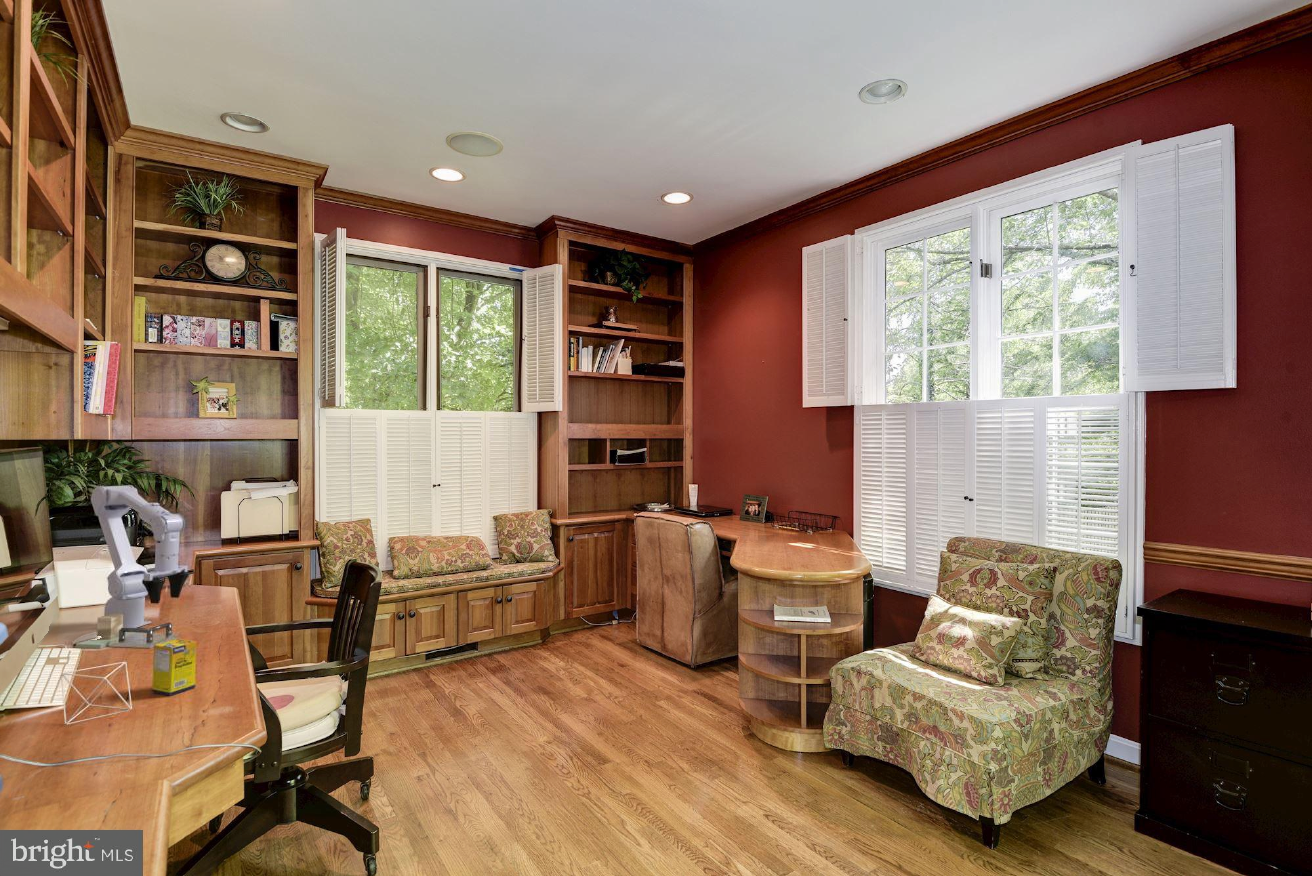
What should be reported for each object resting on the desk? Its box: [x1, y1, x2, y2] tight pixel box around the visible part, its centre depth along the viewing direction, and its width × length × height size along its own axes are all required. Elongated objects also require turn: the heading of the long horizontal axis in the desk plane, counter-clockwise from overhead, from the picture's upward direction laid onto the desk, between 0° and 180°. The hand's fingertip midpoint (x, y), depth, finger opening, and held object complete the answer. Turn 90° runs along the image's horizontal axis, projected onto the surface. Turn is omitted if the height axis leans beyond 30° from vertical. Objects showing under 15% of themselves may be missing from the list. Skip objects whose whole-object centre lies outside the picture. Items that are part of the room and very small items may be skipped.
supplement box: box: [151, 638, 198, 697], centre depth 155 cm, size 6×6×11 cm
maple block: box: [96, 614, 123, 640], centre depth 191 cm, size 4×4×6 cm
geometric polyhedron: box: [60, 661, 133, 725], centre depth 141 cm, size 12×11×9 cm
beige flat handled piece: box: [108, 621, 179, 649], centre depth 190 cm, size 12×10×5 cm
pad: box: [75, 632, 137, 650], centre depth 191 cm, size 7×14×1 cm, turn 178°
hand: (165, 600), depth 201 cm, fingers open, 7 cm apart
